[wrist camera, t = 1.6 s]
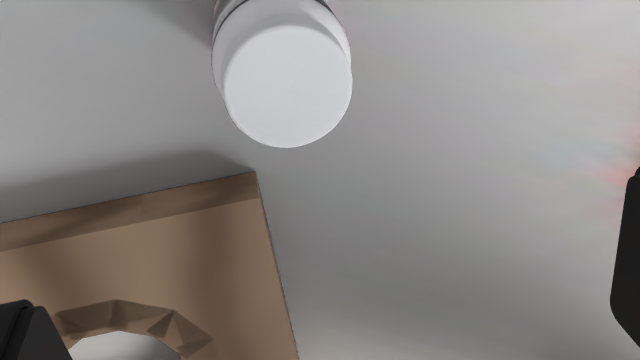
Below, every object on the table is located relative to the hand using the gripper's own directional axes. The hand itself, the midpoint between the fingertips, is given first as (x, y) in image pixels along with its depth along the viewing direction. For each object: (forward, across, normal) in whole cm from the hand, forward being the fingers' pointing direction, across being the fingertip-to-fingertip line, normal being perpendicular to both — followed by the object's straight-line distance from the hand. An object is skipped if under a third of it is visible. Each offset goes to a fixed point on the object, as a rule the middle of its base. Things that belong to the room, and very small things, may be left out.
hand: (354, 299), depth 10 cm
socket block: (+18, +11, +16) cm, 26 cm away
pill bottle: (+18, 0, 0) cm, 18 cm away
